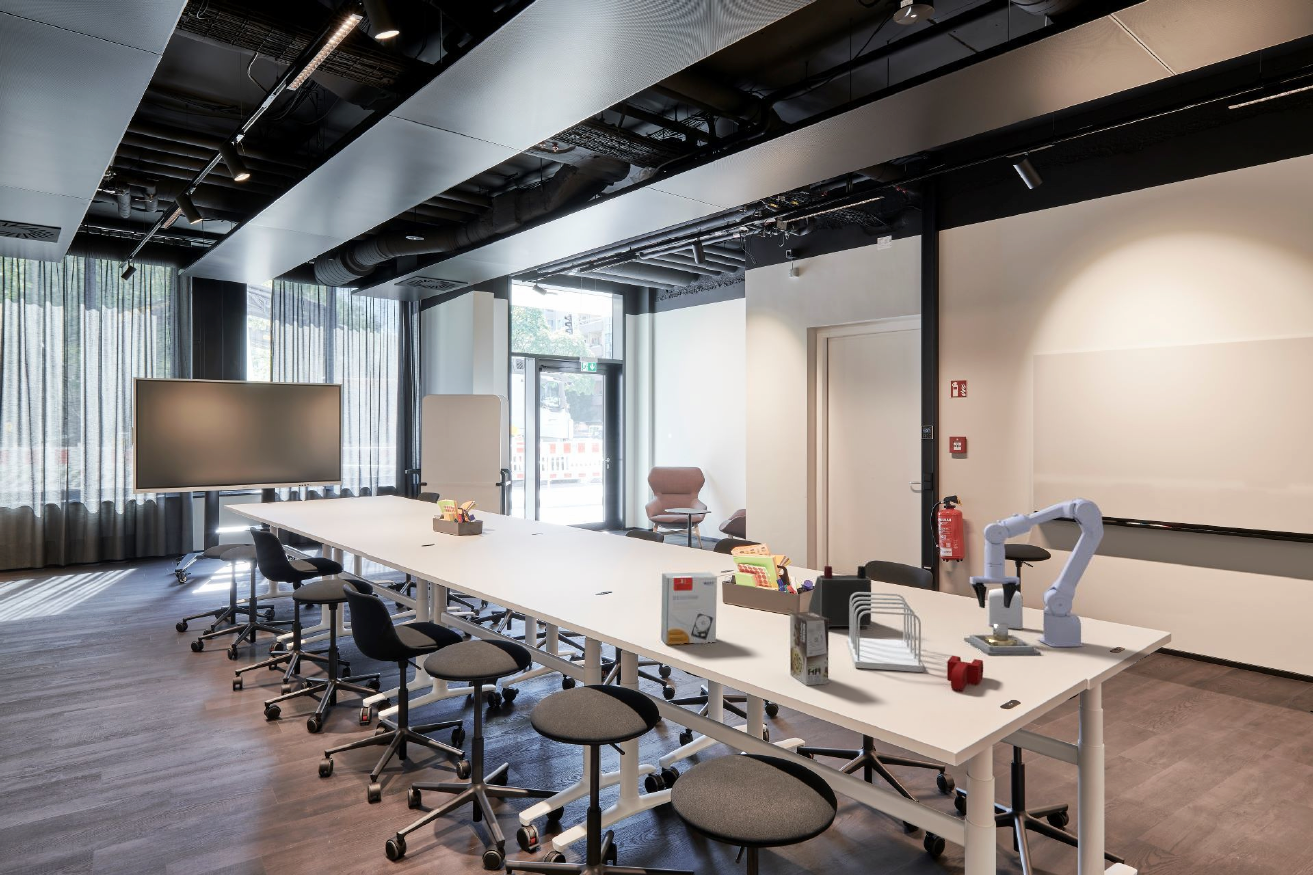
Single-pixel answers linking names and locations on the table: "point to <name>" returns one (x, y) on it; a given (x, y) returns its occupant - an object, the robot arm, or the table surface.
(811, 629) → the coffee box
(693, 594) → the hard drive box
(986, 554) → the robot arm
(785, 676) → the table surface
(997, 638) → the planet gear
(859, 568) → the voltmeter
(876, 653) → the file sorter
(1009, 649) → the plate
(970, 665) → the mechanical linkage
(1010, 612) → the photo printer
